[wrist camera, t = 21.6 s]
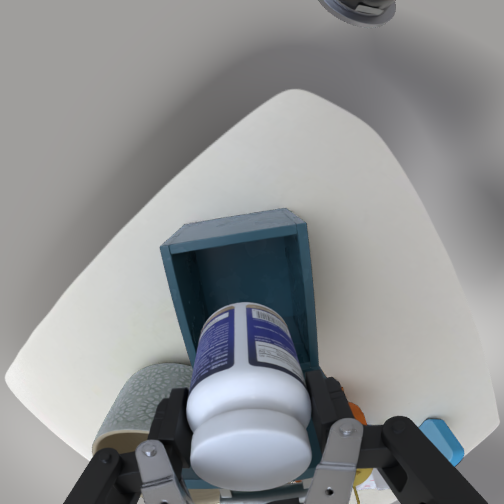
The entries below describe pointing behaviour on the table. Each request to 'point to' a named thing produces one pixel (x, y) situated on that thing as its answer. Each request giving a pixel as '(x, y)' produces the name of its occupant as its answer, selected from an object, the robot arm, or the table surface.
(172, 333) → the table surface
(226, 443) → the pill bottle
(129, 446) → the planter
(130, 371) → the table surface
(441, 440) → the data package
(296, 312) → the chest
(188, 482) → the lid
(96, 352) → the table surface
